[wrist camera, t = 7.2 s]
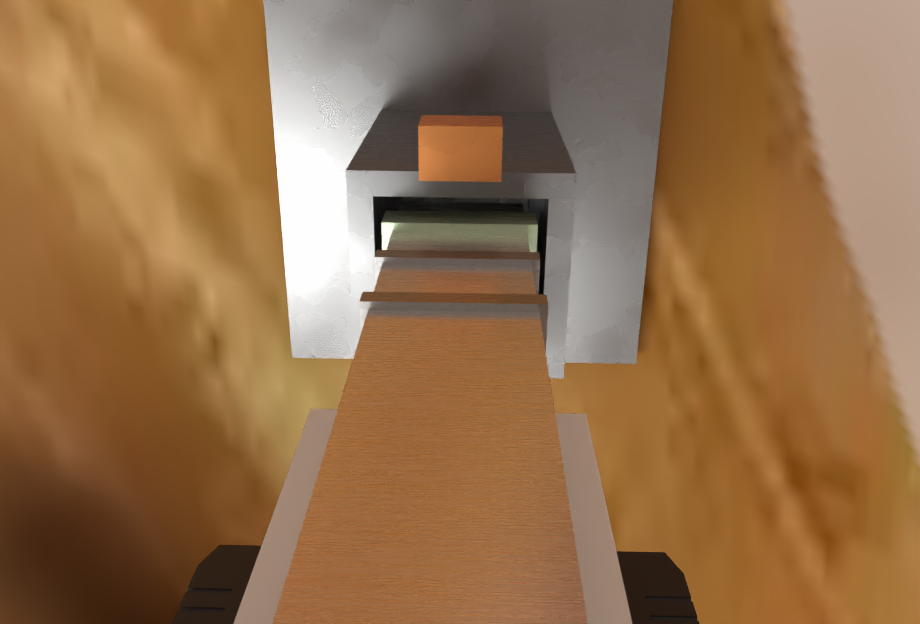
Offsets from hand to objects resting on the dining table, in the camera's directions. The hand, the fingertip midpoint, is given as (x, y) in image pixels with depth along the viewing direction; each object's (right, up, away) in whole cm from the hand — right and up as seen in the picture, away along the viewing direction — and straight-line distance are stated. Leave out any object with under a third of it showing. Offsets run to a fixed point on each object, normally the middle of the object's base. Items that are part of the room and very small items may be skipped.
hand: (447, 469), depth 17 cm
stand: (0, +9, +20) cm, 22 cm away
